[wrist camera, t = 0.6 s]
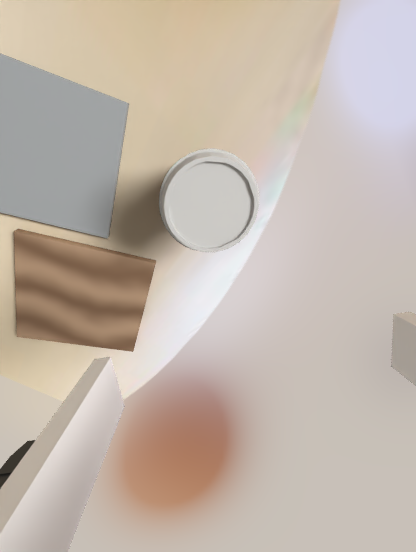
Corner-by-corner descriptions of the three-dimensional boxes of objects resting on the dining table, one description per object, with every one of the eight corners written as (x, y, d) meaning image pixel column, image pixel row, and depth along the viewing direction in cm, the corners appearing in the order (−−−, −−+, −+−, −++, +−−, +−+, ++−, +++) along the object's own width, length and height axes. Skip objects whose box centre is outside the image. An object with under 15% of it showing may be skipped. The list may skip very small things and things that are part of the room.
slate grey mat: (-47, 35, 23) (-54, 32, 22) (128, 104, 27) (127, 103, 26) (-30, 202, 30) (-34, 204, 29) (108, 236, 34) (107, 238, 33)
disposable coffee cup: (197, 126, 29) (212, 120, 19) (248, 184, 33) (283, 206, 23) (146, 187, 32) (135, 211, 21) (199, 234, 36) (211, 274, 25)
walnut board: (18, 228, 32) (14, 231, 31) (155, 260, 37) (155, 263, 36) (20, 332, 40) (17, 336, 39) (133, 347, 44) (133, 351, 44)
